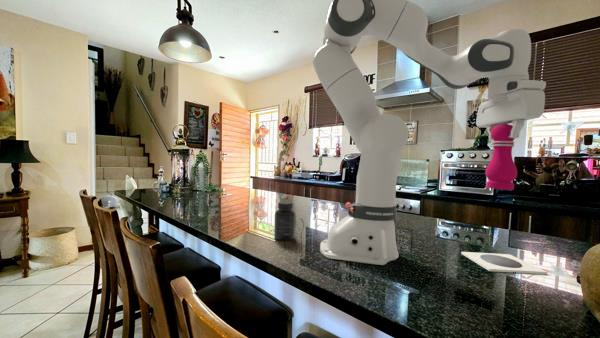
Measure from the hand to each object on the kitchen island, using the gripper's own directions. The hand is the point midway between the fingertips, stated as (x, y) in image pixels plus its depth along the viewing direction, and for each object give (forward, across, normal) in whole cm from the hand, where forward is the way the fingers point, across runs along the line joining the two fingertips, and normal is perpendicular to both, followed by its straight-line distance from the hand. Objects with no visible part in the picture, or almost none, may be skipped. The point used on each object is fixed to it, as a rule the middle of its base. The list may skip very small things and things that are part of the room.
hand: (503, 139), depth 72 cm
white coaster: (+34, +4, -1) cm, 35 cm away
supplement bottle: (+36, -8, -62) cm, 72 cm away
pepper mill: (+14, 0, 0) cm, 14 cm away
